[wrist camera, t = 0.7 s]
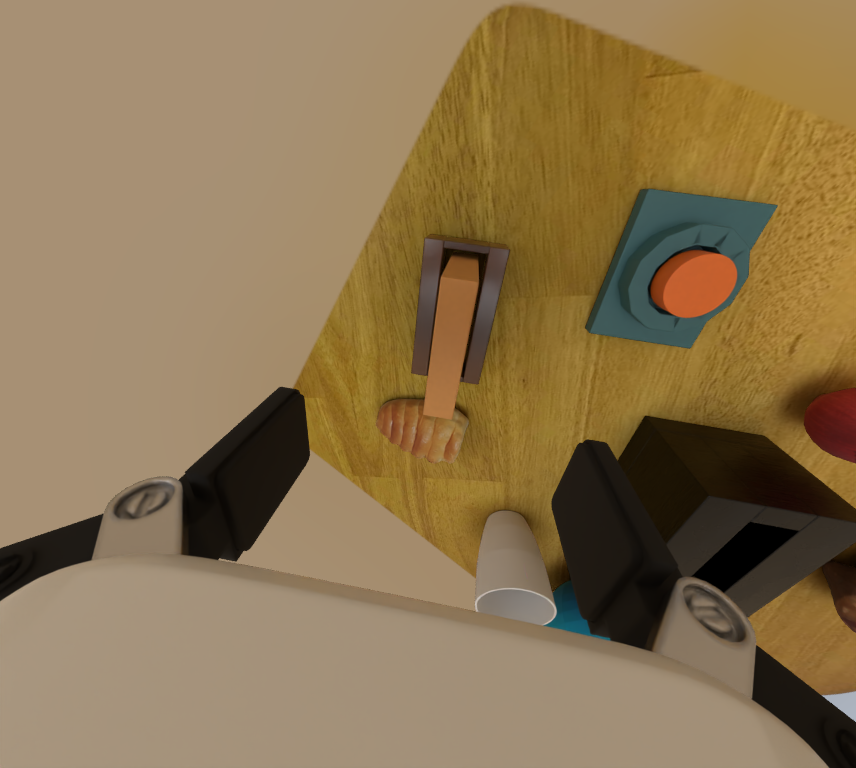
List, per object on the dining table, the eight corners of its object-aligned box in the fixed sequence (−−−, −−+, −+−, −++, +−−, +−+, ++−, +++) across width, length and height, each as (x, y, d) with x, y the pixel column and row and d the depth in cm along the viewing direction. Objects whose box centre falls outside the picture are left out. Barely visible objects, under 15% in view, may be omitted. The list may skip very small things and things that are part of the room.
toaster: (644, 415, 29) (709, 496, 21) (764, 435, 29) (878, 527, 21) (585, 513, 37) (616, 600, 29) (679, 531, 36) (737, 625, 28)
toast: (453, 251, 24) (440, 276, 16) (478, 254, 24) (479, 282, 16) (438, 353, 29) (422, 415, 20) (459, 356, 29) (452, 420, 20)
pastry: (376, 432, 35) (366, 455, 32) (385, 383, 32) (374, 403, 28) (456, 453, 35) (453, 478, 32) (473, 406, 32) (472, 429, 28)
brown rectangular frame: (430, 233, 24) (424, 237, 21) (506, 244, 24) (510, 249, 21) (416, 359, 30) (411, 373, 27) (478, 369, 29) (478, 384, 27)
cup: (462, 514, 40) (459, 598, 32) (517, 494, 37) (530, 581, 28) (496, 548, 43) (501, 633, 34) (550, 531, 40) (571, 621, 31)
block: (640, 189, 21) (663, 187, 18) (763, 205, 20) (804, 205, 18) (584, 328, 26) (596, 341, 23) (681, 343, 26) (704, 358, 23)
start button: (668, 245, 20) (683, 249, 18) (732, 254, 20) (752, 258, 18) (639, 305, 22) (651, 313, 21) (697, 314, 22) (713, 322, 20)
